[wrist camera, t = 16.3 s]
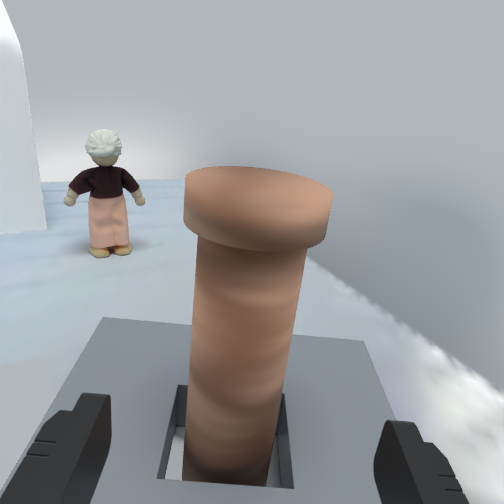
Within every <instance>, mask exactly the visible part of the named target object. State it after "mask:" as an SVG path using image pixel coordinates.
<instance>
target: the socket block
mask: <svg viewBox="0 0 504 504" xmlns="http://www.w3.org/2000/svg"><path fill="white" fill-rule="evenodd" d="M191 333H192V325H184V324H173V323H162V322H151V321H140V320H129V319H118V318H107V317H103V318H102V319H101V321H100V323H99V324H98V326H97V328H96V330H95V331H94V333H93V335H92V336H91V338H90V340H89V341H88V343H87V345H86V347H85V348H84V350H83V352H82V353H81V355H80V357H79V358H78V360H77V362H76V364H75V365H74V367H73V369H72V370H71V372H70V374H69V375H68V377H67V379H66V381H65V382H64V384H63V386H62V387H61V389H60V391H59V392H58V394H57V396H56V398H55V399H54V401H53V403H52V404H51V406H50V408H49V409H48V411H47V413H46V415H45V416H44V418H43V420H42V422H41V423H40V425H39V427H38V428H37V430H36V432H35V433H34V435H33V437H32V438H31V440H30V442H29V444H28V445H27V447H26V449H25V450H24V452H23V454H22V455H21V457H20V459H19V460H18V462H17V464H16V466H15V467H14V469H13V471H12V472H11V474H10V476H9V478H8V479H7V481H6V483H5V484H4V486H3V488H2V490H1V491H0V497H1V496H2V494H3V492H4V491H5V489H6V487H7V485H8V484H9V482H10V480H11V479H12V477H13V475H14V474H15V472H16V470H17V468H18V467H19V465H20V463H21V462H22V460H23V458H24V457H26V453H27V451H28V450H29V448H30V446H31V445H32V443H34V440H35V438H36V436H37V434H38V433H39V431H40V429H41V428H42V426H43V424H44V423H45V422H46V421H47V420H49V419H50V418H51V417H52V416H53V415H54V414H56V413H57V412H58V411H59V410H67V411H72V410H73V408H74V406H75V405H76V403H77V401H78V399H79V397H80V395H81V394H82V393H83V392H86V393H97V394H109V395H110V397H111V421H112V438H111V445H110V450H109V454H108V457H107V460H106V463H105V465H104V468H103V471H102V473H101V476H100V479H99V481H98V484H97V487H96V489H95V492H94V495H93V497H92V500H91V503H90V504H382V503H381V500H380V497H379V493H378V490H377V486H376V483H375V479H374V472H373V462H374V456H375V453H376V450H377V446H378V443H379V440H380V436H381V433H382V430H383V426H384V423H385V422H386V421H387V420H394V421H396V419H395V416H394V414H393V412H392V409H391V407H390V404H389V402H388V399H387V397H386V394H385V392H384V390H383V387H382V385H381V382H380V380H379V377H378V375H377V373H376V370H375V368H374V365H373V363H372V360H371V358H370V356H369V353H368V351H367V348H366V346H365V343H364V341H358V340H347V339H336V338H326V337H315V336H304V335H293V334H292V339H291V344H290V350H289V356H288V361H287V367H286V373H285V379H284V384H283V390H282V396H281V402H280V407H279V413H278V419H277V424H276V430H275V433H277V434H278V448H279V462H280V475H281V488H272V487H259V486H246V485H232V484H219V483H206V482H192V481H179V480H165V474H166V469H167V464H168V460H169V455H170V450H171V445H172V440H173V436H174V431H175V426H176V425H180V426H185V424H186V409H187V394H188V379H189V364H190V349H191Z"/></svg>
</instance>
